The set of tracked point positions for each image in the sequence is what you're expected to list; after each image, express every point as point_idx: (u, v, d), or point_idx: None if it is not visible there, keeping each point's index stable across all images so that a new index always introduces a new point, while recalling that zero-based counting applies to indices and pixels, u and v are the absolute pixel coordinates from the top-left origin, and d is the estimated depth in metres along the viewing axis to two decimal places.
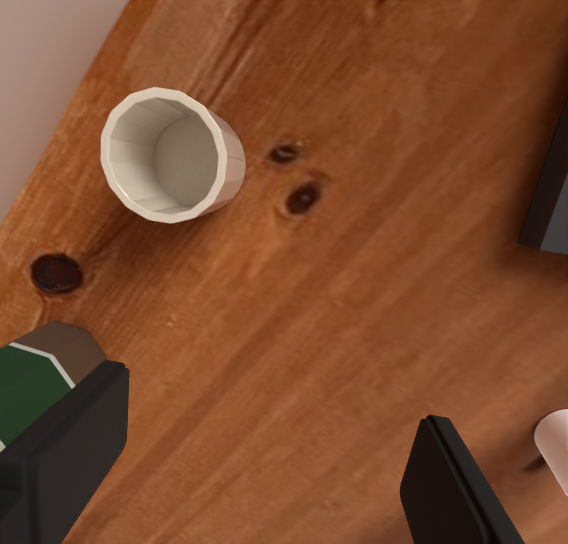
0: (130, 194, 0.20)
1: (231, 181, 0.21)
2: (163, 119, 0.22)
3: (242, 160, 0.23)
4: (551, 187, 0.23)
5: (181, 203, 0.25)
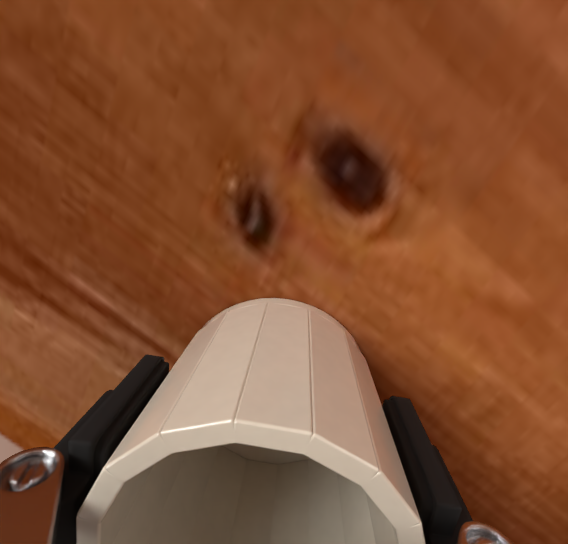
0: None
1: (311, 371, 0.08)
2: (190, 458, 0.12)
3: (265, 313, 0.11)
4: None
5: None
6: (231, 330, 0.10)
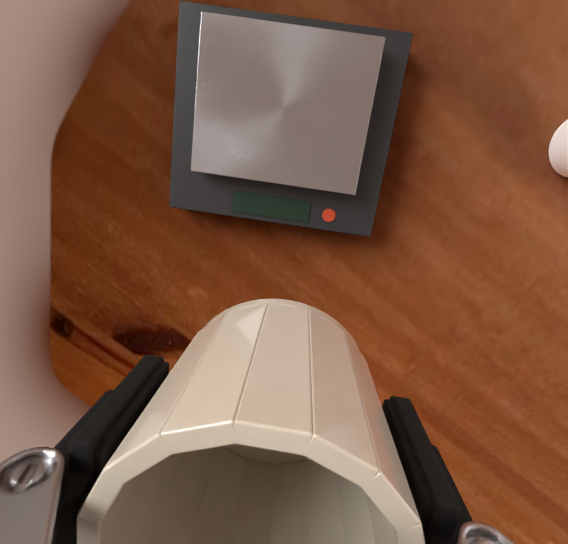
0: None
1: (311, 372, 0.08)
2: (190, 458, 0.12)
3: (265, 314, 0.11)
4: None
5: None
6: (231, 331, 0.10)
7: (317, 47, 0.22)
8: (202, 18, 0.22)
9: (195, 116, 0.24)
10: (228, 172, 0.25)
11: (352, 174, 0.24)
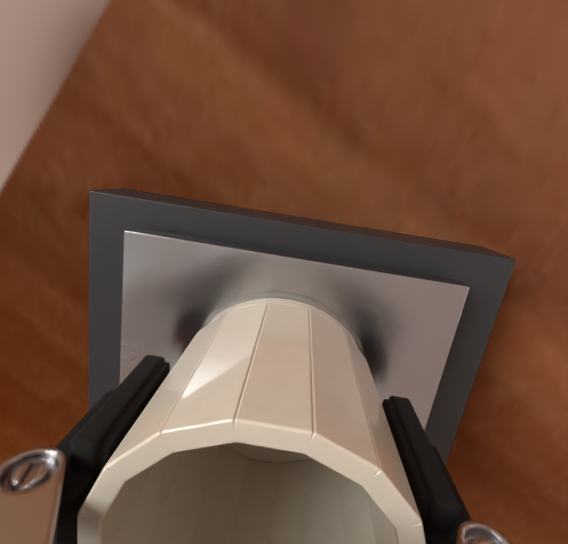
0: None
1: (311, 370, 0.08)
2: (190, 457, 0.12)
3: (265, 313, 0.11)
4: None
5: None
6: (232, 330, 0.10)
7: (340, 296, 0.12)
8: (126, 241, 0.12)
9: None
10: None
11: None
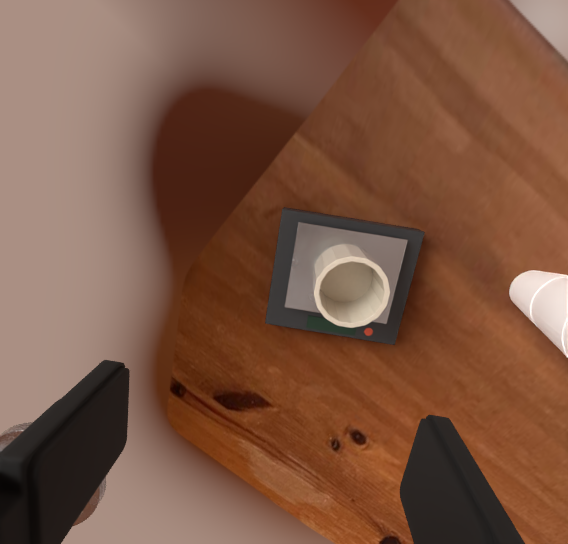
0: (370, 314, 0.34)
1: (363, 254, 0.34)
2: (320, 292, 0.37)
3: (346, 246, 0.36)
4: None
5: (370, 287, 0.38)
6: (338, 249, 0.36)
7: (367, 243, 0.38)
8: (299, 225, 0.38)
9: (290, 277, 0.39)
10: (308, 308, 0.40)
11: (385, 312, 0.40)
